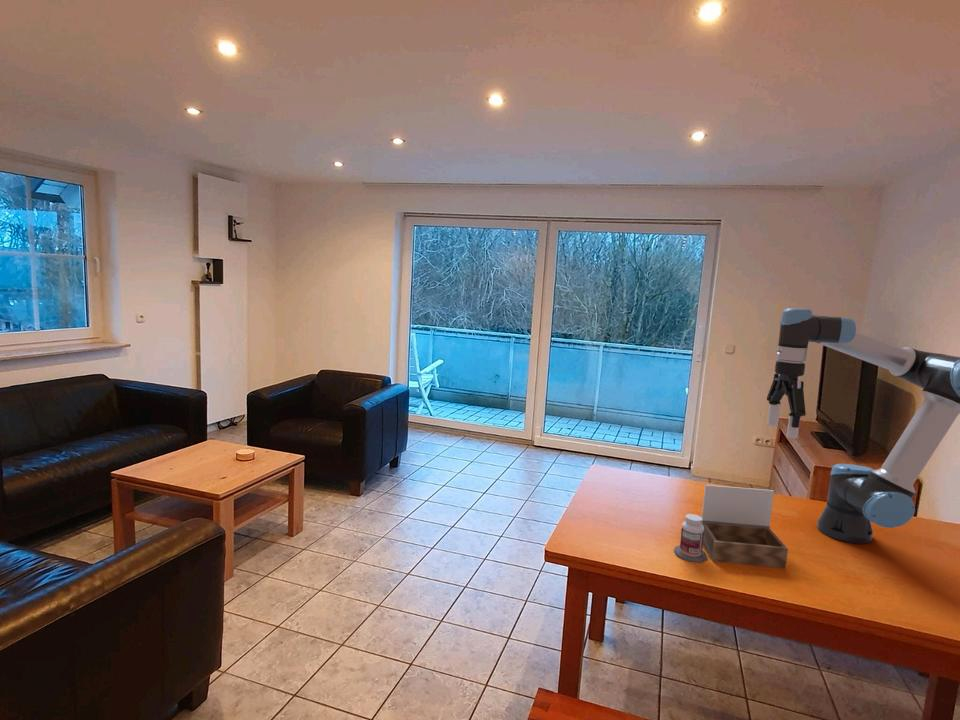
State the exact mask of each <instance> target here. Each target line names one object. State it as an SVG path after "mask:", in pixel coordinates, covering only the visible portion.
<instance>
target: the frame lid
mask: <svg viewBox="0 0 960 720" xmlns="http://www.w3.org/2000/svg"><path fill="white" fill-rule="evenodd" d="M703 493H704V494H703V502H702V510H701V517H702V519H703V520H702V523H712V524H723V525H735V526H746V527H757V528H769V529H771V526H770V524H771V518H772V517H771V516H772V509H773V501H774V495H775V494H774V493H775V491H774V489H764V488H763V489H762V488H752V487H751V488H749V487H738V486H727V485H726V486H725V485H716V484H715V485H713V484H704V491H703Z"/></svg>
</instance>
